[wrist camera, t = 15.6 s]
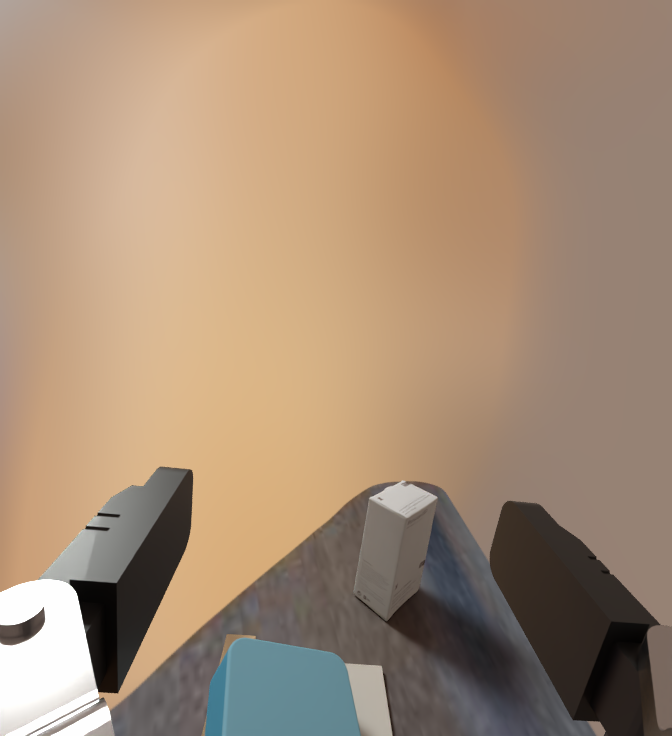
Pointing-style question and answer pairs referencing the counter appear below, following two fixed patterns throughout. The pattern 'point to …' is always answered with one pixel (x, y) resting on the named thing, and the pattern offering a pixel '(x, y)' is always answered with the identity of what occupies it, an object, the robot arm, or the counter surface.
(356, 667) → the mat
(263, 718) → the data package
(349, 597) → the counter surface
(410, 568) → the skincare box
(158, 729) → the counter surface
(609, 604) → the robot arm
